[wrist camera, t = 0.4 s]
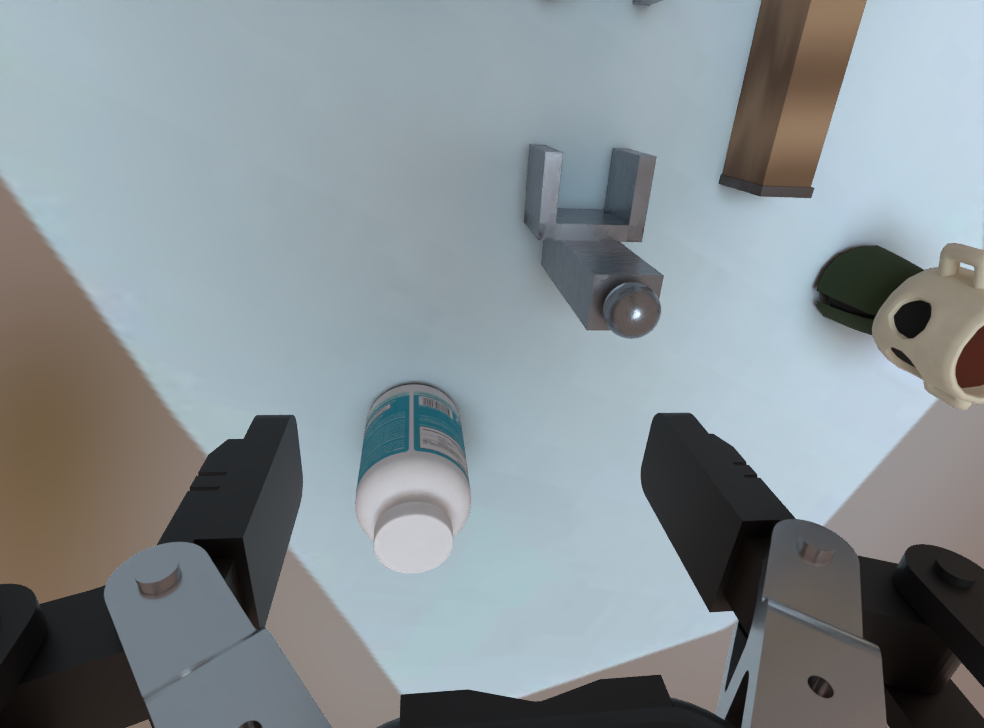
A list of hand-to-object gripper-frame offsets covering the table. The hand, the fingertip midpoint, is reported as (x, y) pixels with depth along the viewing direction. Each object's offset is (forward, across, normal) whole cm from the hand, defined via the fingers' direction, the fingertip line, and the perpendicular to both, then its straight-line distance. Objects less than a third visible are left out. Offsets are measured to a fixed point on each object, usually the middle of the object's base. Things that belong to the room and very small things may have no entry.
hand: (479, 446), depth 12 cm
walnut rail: (+27, -21, -10) cm, 36 cm away
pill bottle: (+27, +2, +17) cm, 32 cm away
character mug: (+27, -32, +4) cm, 42 cm away
